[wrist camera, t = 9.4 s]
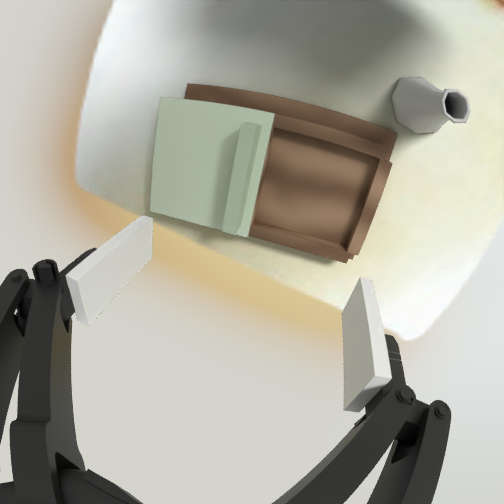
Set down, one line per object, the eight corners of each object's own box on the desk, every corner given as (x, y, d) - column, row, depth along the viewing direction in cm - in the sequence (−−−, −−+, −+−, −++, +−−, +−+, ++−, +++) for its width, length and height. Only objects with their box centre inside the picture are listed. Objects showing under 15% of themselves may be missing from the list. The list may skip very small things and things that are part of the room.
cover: (163, 97, 28) (146, 97, 25) (275, 113, 27) (270, 113, 24) (152, 209, 36) (138, 219, 33) (248, 235, 35) (241, 249, 31)
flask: (387, 126, 27) (416, 133, 18) (392, 69, 23) (423, 54, 15) (440, 141, 26) (481, 156, 17) (446, 86, 22) (489, 83, 14)
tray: (190, 83, 29) (182, 82, 27) (395, 132, 27) (401, 134, 25) (174, 206, 38) (166, 213, 36) (351, 255, 36) (353, 265, 33)
